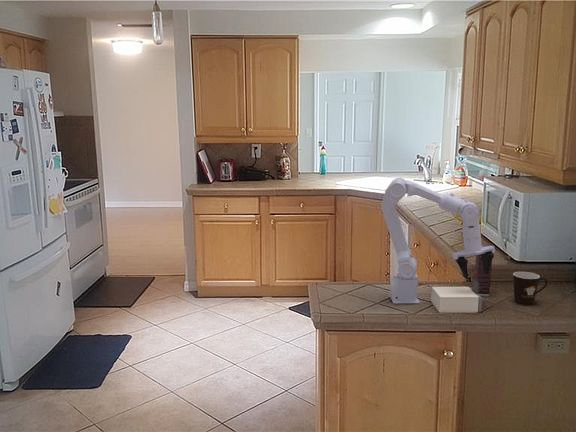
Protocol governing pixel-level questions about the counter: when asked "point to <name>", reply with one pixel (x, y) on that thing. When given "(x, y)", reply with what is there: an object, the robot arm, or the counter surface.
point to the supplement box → (482, 277)
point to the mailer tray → (476, 289)
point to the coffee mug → (526, 287)
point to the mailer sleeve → (454, 299)
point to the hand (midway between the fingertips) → (476, 275)
